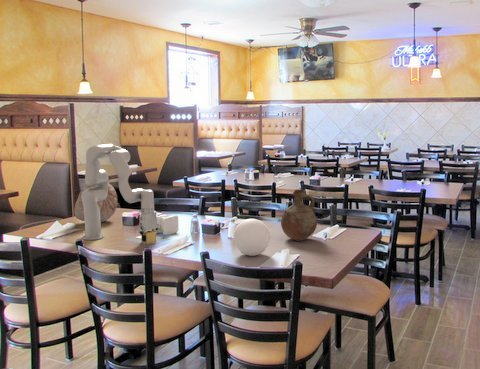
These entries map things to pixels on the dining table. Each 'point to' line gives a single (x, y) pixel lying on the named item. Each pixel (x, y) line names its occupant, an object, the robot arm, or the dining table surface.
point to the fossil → (105, 205)
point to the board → (138, 240)
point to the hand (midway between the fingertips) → (148, 239)
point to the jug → (299, 217)
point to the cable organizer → (167, 224)
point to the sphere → (251, 237)
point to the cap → (150, 236)
